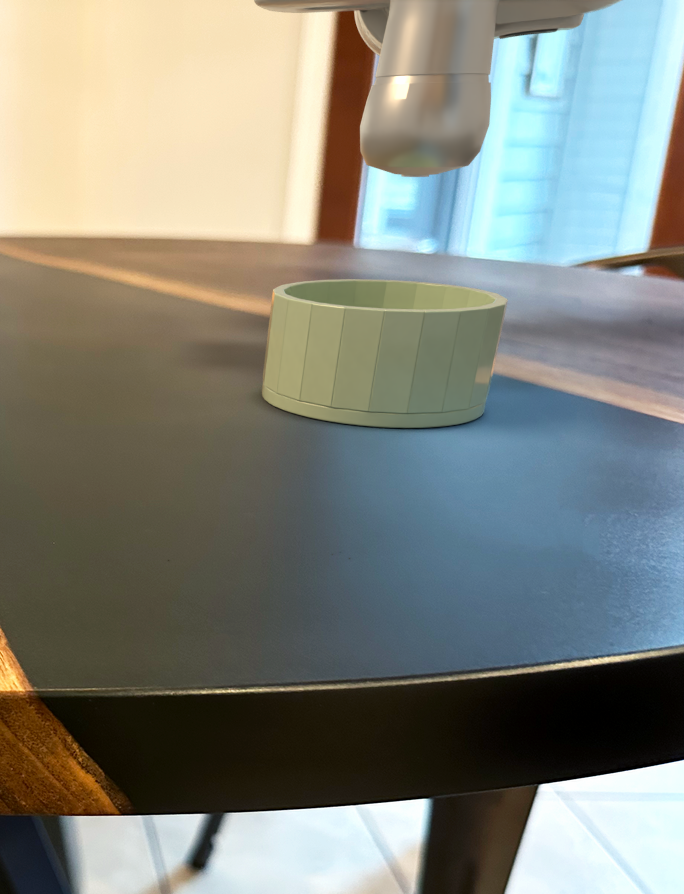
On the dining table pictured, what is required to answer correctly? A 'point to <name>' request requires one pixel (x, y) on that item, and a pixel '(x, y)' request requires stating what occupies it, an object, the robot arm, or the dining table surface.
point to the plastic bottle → (430, 87)
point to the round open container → (382, 351)
